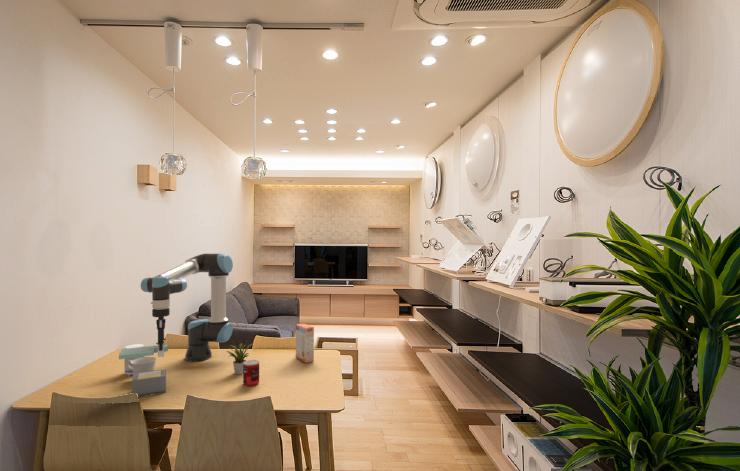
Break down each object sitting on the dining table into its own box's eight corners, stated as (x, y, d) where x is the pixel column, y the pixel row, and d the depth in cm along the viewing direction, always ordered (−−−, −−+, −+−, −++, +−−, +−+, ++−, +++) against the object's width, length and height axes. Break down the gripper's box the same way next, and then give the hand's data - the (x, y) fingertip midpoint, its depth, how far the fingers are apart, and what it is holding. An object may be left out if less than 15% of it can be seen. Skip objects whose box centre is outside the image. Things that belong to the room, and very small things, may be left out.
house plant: (247, 365, 226) (247, 337, 226) (259, 371, 216) (259, 342, 216) (223, 371, 216) (223, 342, 216) (234, 378, 206) (234, 347, 206)
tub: (166, 384, 197) (166, 369, 197) (165, 392, 187) (165, 376, 187) (133, 389, 191) (134, 373, 191) (131, 397, 181) (131, 380, 181)
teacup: (134, 374, 211) (134, 356, 211) (161, 375, 210) (161, 356, 210) (119, 383, 199) (119, 363, 199) (147, 383, 198) (148, 364, 198)
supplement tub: (145, 373, 213) (145, 346, 213) (124, 377, 208) (124, 349, 208) (143, 368, 221) (143, 342, 221) (124, 371, 216) (124, 345, 216)
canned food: (245, 380, 202) (245, 359, 202) (260, 380, 203) (260, 359, 203) (241, 386, 195) (241, 364, 195) (257, 386, 195) (257, 364, 195)
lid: (168, 347, 198) (168, 342, 198) (167, 353, 187) (167, 348, 187) (121, 352, 189) (121, 347, 189) (118, 359, 178) (118, 354, 178)
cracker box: (314, 361, 233) (314, 327, 233) (305, 363, 230) (305, 328, 230) (304, 355, 245) (304, 322, 245) (295, 357, 241) (295, 323, 241)
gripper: (153, 305, 197) (153, 351, 197) (151, 311, 182) (151, 361, 182) (169, 304, 200) (169, 349, 200) (169, 310, 185) (169, 359, 185)
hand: (161, 355), depth 191 cm, fingers closed on lid, 4 cm apart
